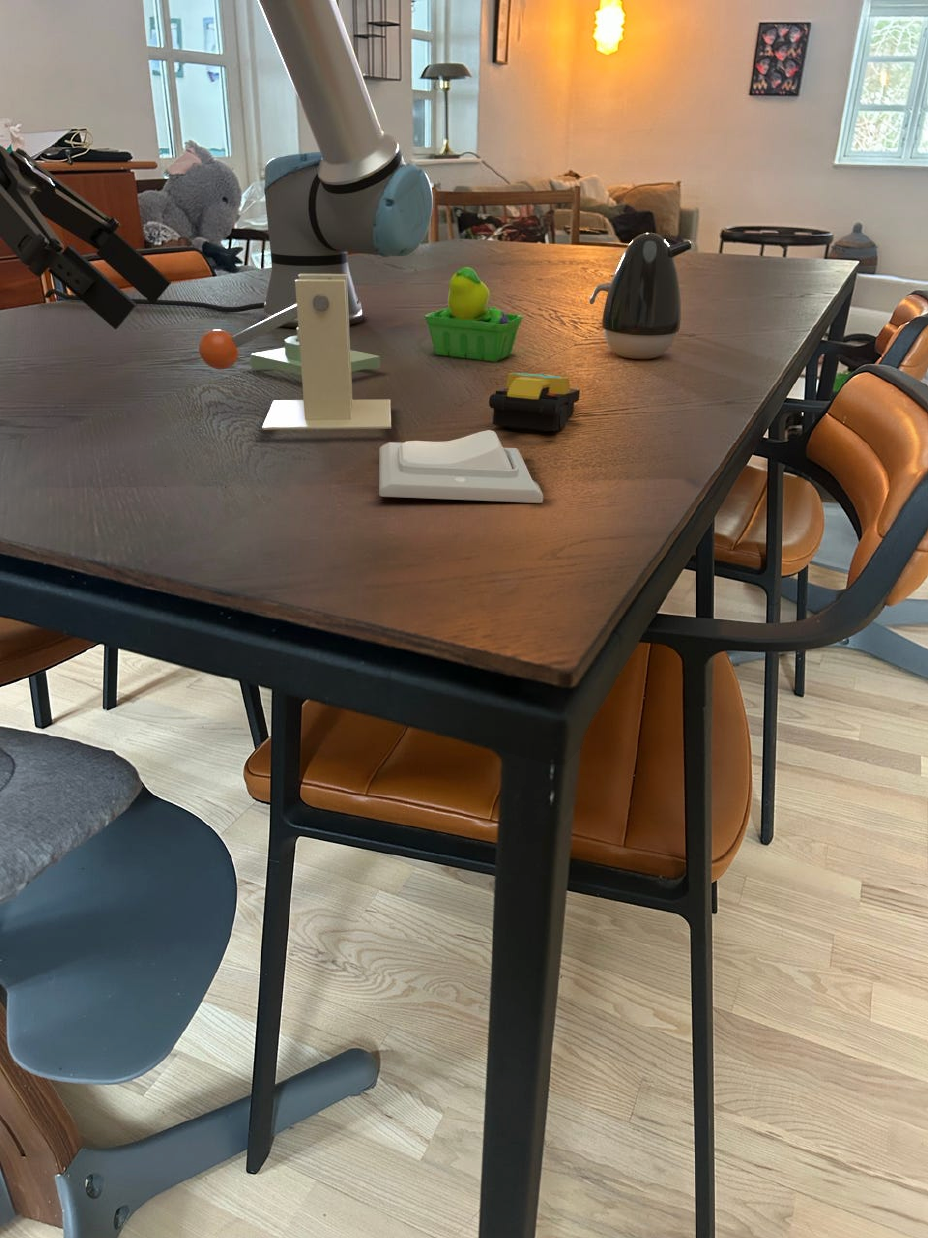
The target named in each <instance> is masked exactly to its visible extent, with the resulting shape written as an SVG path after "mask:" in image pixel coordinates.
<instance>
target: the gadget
mask: <svg viewBox="0 0 928 1238" xmlns="http://www.w3.org/2000/svg"><path fill="white" fill-rule="evenodd" d="M580 394H581V389H576V388H573V387H570V377H566V376H559V375H553V374H550V373H549V374H547V373H538V374H537V373H525V372H509V373H508V374H507V379H506V384H505V388H503V389H498V390H495V393H492V394H490V396H489V398H488V399H489V401H488V406H489V407H490V408H491V409H493V412H492V413H493V414H492V425H493V426H501V427H503V428H506V429H507V428H508V429H511V430H514V431H517V432H521V433H530V434H532V433H548V432H559V430H563V428H565V427H566V422H567V421H568V420H569V418H571V417H572V416H573V414H574V407H575V403H577V402H579V401H580Z"/></svg>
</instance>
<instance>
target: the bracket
mask: <svg viewBox="0 0 928 1238" xmlns="http://www.w3.org/2000/svg"><path fill="white" fill-rule="evenodd" d="M328 278H331V279H332V280H326V279H328ZM295 289H296V302H297V316H298V330H299V344H300V358H301V371H302V376H301V382H302V384H301V385H302V395H303V396H302V399H280V400H278V399H273V400H272V402H271V405H270V407H269V410H268V413H267V415H266V417H265V419H264V422H263V424H262V426H261V430H262V431H272V430H273V431H274V430H276V431H279V430H281V431H285V430H289V431H291V430H384V429H385V430H389V429H392V411H391V399H389V398H388V399H353V381H352V379H353V378H352V372H351V357H350V350H351V338H350V325H349V314H348V292H347V274H299V279H296V280H295Z"/></svg>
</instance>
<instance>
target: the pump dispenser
mask: <svg viewBox="0 0 928 1238" xmlns="http://www.w3.org/2000/svg"><path fill="white" fill-rule="evenodd" d="M692 247H693V246H692V242H691V241H690V240H686V241H683V242H679V243H676V244H673V245H669V243H668V242H667V241H666V239H665V238H664V237H663V236H661V235H659V234H658V233H654V232H646V233H642V234H639V235H638V236H636V237H635V238H633V239H632V241H631V242H630V243H629V244H628V245H627V247H626V249H625V250H624V252H623V254H622V256H621V258H620V260H619V262H618V264H617V266H616V269H615V271H614V274H613V276H612V279H611V282H610V283H611V284H610V288H609V291H608V292H607V295H606V299H605V303H604V309H603V314H602V319H601V320H602V321H601V327H602V328H603V331H604V338H605V341H606V344H607V345H608V347H609V349H610V350H611V351H612V352H613V353H615V355H618V356H620V357H622V358H624V359H633V360H650V359H651V360H652V359H655V358H657V357H660V356H662V355H663V354H665V353H666V352H667V351H668V350H669V349H670V347H671V346H672V345H673V343H674V341H675V338H676V336H677V333H678V332H679V331H680V328H681V320H682V319H681V317H682V315H681V313H682V311H681V309H682V308H681V307H682V305H681V302H682V301H681V289H680V288H681V287H680V282H679V274H678V270H677V266H676V262H675V257H677V256H679V255H682V254H683V253H685V252H688V251H690V250H691V249H692Z"/></svg>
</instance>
